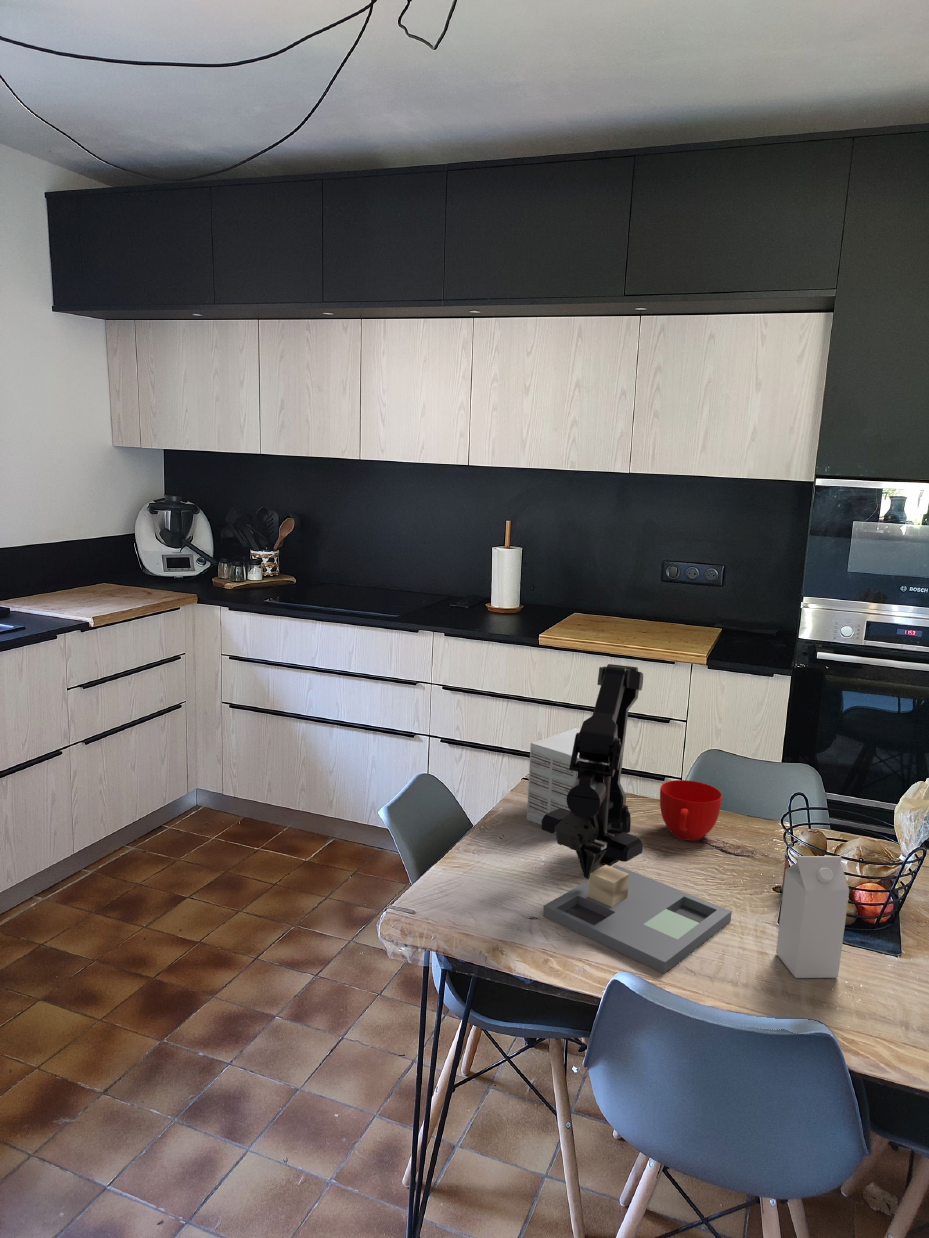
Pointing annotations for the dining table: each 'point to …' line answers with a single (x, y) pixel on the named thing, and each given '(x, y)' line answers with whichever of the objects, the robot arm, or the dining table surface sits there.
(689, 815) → the ceramic cup
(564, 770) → the supplement box
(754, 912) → the dining table surface
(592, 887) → the maple block
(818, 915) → the milk carton
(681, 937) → the board
